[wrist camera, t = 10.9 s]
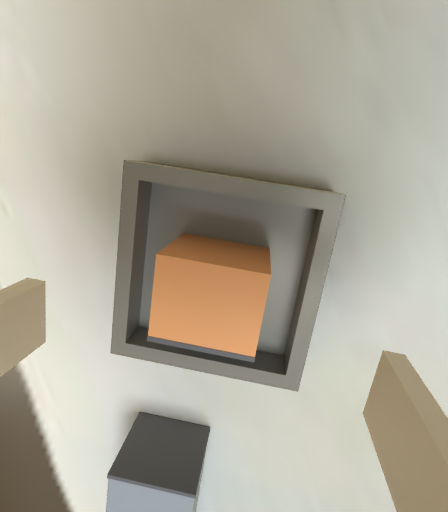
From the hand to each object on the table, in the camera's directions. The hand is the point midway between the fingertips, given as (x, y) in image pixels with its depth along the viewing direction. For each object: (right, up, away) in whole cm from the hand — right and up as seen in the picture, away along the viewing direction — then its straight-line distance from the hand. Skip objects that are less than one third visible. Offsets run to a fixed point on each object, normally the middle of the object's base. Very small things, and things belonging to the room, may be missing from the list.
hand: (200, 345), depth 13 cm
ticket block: (-4, -16, +17) cm, 24 cm away
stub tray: (+1, +3, +12) cm, 12 cm away
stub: (+1, +2, +11) cm, 11 cm away
